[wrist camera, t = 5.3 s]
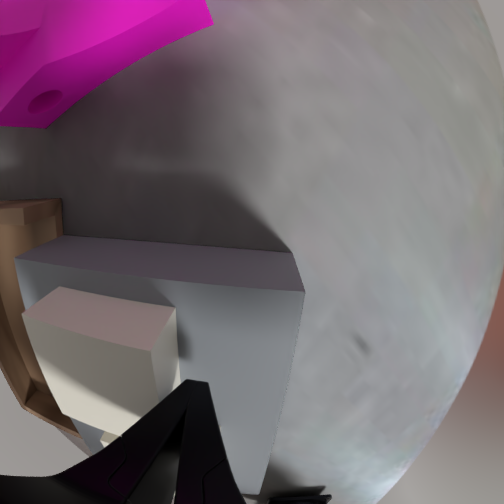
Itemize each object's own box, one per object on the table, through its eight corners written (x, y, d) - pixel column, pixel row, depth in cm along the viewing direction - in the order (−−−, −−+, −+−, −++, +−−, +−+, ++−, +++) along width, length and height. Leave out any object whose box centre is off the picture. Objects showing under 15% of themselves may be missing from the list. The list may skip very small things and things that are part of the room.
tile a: (175, 307, 9) (150, 351, 6) (183, 406, 10) (170, 449, 8) (59, 286, 9) (21, 313, 6) (85, 380, 10) (62, 413, 8)
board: (292, 252, 12) (305, 291, 8) (260, 452, 17) (258, 494, 13) (63, 234, 12) (13, 257, 8) (114, 426, 17) (97, 460, 13)
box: (61, 198, 12) (23, 208, 9) (111, 419, 17) (97, 445, 14) (-13, 202, 12) (-43, 210, 9) (37, 389, 17) (22, 408, 14)
